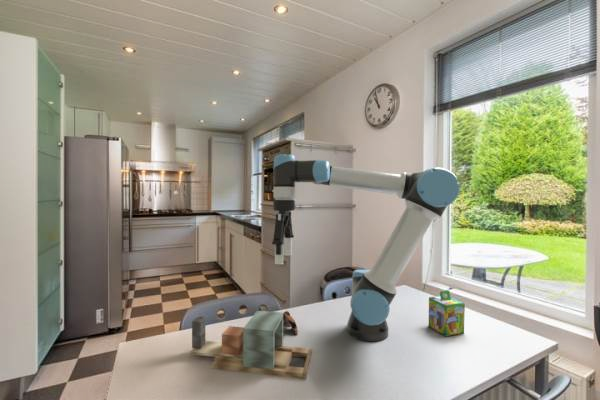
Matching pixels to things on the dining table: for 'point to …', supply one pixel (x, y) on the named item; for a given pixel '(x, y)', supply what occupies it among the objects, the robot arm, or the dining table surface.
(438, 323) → the chalk box
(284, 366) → the tunnel deck
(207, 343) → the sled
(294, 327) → the pottery mug
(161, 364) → the dining table surface
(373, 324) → the robot arm
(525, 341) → the dining table surface
